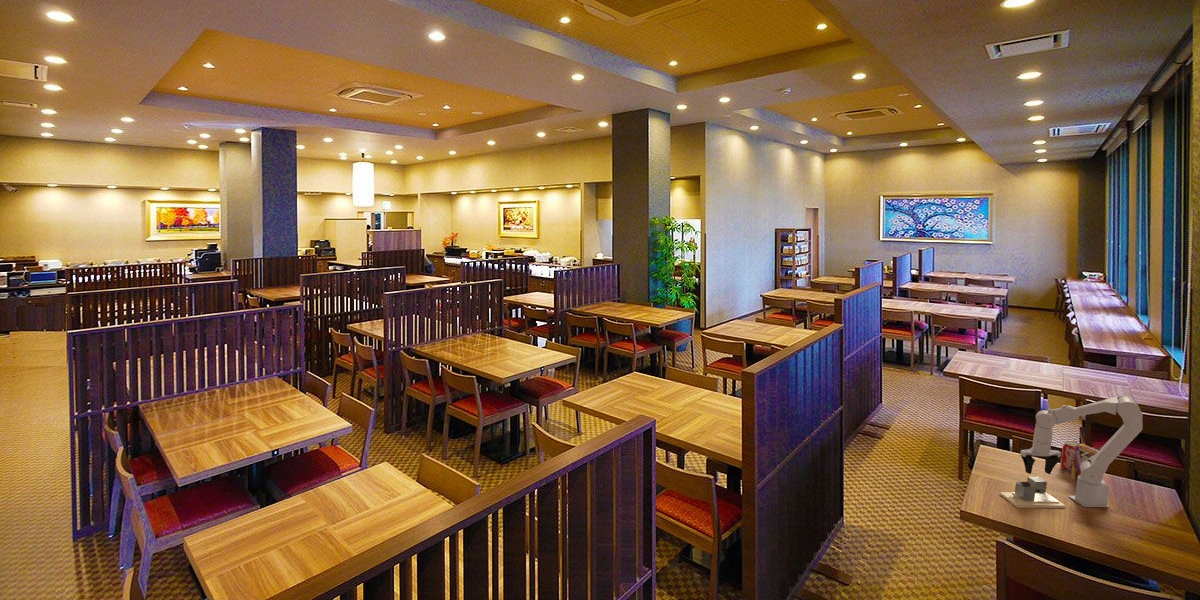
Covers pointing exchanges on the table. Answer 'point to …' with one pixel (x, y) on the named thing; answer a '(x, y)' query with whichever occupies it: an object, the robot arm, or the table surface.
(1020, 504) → the scale base
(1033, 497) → the block
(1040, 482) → the spacer
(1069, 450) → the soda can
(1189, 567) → the table surface
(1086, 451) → the candy box
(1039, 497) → the white flat slab
